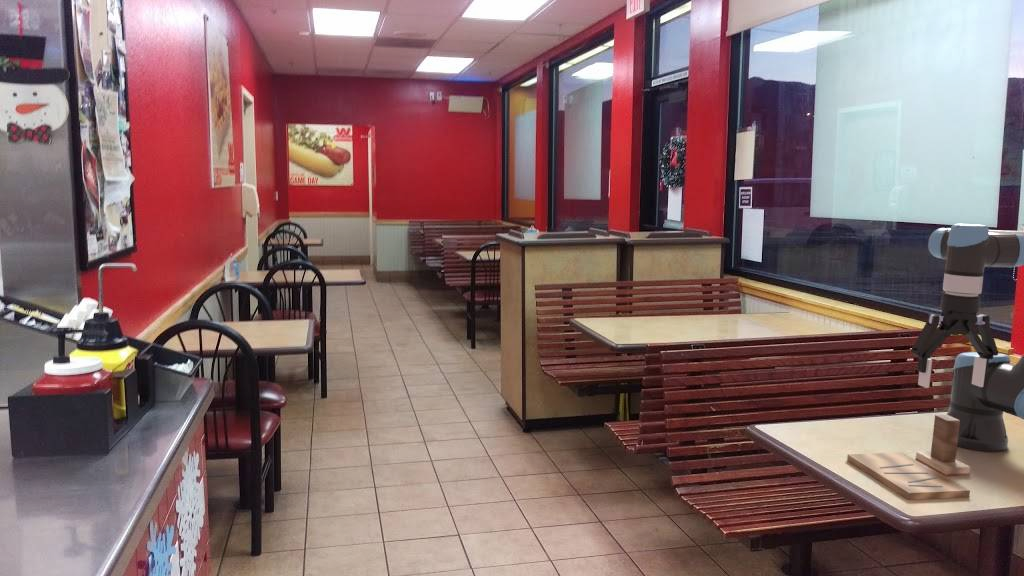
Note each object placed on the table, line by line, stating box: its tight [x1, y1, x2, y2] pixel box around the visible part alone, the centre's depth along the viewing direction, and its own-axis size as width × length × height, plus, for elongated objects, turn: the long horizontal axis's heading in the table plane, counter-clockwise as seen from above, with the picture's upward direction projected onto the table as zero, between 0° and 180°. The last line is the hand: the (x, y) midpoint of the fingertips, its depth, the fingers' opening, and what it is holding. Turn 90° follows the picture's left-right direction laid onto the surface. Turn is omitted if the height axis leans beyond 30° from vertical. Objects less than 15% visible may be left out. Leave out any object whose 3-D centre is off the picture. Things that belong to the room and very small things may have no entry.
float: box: [915, 414, 971, 477], centre depth 177 cm, size 6×10×12 cm, turn 9°
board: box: [846, 452, 971, 501], centre depth 171 cm, size 14×22×2 cm, turn 9°
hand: (950, 386), depth 175 cm, fingers open, 13 cm apart
